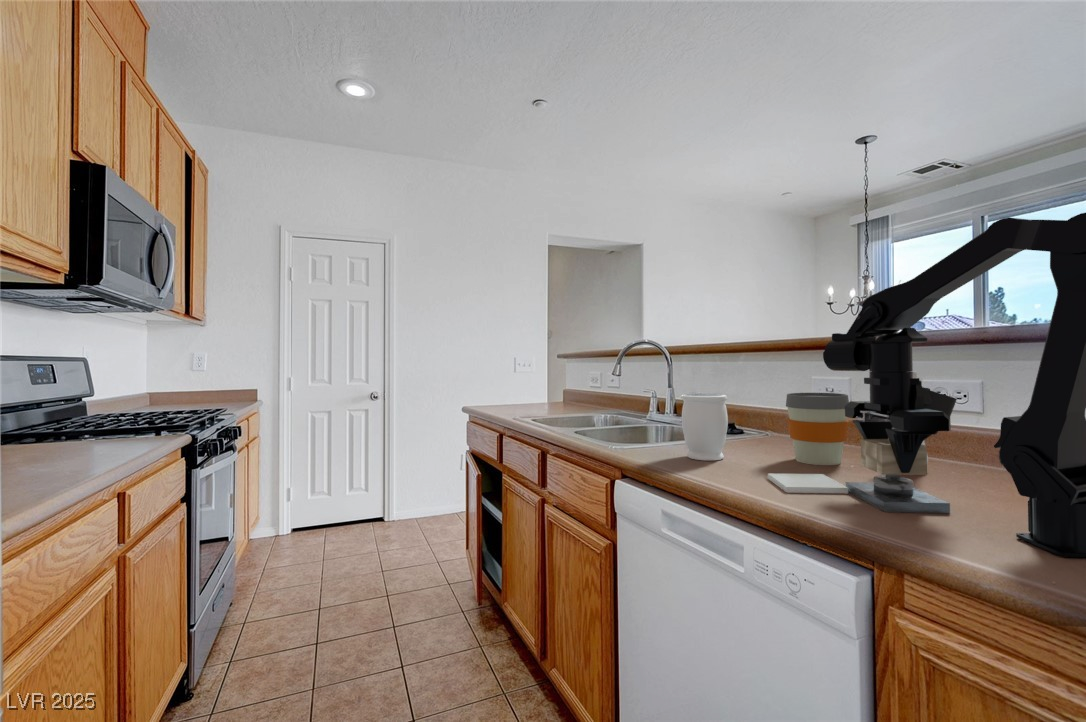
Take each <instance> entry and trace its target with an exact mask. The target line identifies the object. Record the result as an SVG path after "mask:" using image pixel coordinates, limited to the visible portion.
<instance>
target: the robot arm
mask: <svg viewBox="0 0 1086 722" xmlns="http://www.w3.org/2000/svg"><path fill="white" fill-rule="evenodd" d="M1023 251H1035V252H1037V251H1038V252H1047V253H1048V252H1049V253H1050V255H1049V270H1050V272H1051V275H1052V277H1053V281H1054V284H1055V287H1056V290H1057V291H1056V293H1057V295H1056V300H1055V302H1054V303H1055V304H1054V307H1053V311H1052V316H1051V319H1050V322H1049V327H1048V331H1047V335H1046V339H1045V342H1044V346H1043V351H1042V354H1041V359H1040V363H1039V365H1038V370H1037V374H1036V378H1035V381H1034V385H1033V390H1032V394H1031V398H1030V402H1029V405H1028V407H1027V409H1026V410H1025V411H1024V412H1023V413H1022V414H1021V415H1017V416H1006V417H1003V418H1002V420H1001V423H1000V434H999V437H998V440H997V441H996V442H995V444H994V445H993V448H995V449H999V450H998V460H999V463H1000V464H1001V465H1002V466H1003V467H1004V468H1005V470H1006V471H1007V472H1008V473H1009V474H1010V475H1011V479H1012V481H1013V482H1014V484H1015V487H1016V489H1017V492H1018V494H1019V495H1020V496H1021V497H1025V498H1026V497H1027V498H1028V501H1027V522H1028V523H1027V524H1028V530H1027V531H1028V532H1026V533H1025V532H1016V534H1015V535H1016V538H1018V539H1020V540H1022V541H1025V542H1026V543H1029V544H1032V545H1034V546H1036V547H1038V548H1040V549H1042V550H1044V551H1048V552H1050V553H1052V554H1054V555H1056V556H1059V557H1064V558H1065V557H1066V558H1086V212H1082V213H1079V214H1076V215H1074V216H1071V217H1070V218H1068V219H1067V220H1065V219H1028V218H1027V219H1026V218H1017V217H1003V218H1000V219H998V220H997V221H994V222H992V223H991V224H990V225H989V226H988V227H987V229H986V230H984V231H983V232H981V233H979V234H978V235H977V236H976V237H974V238H972V239H971V240H968V242H966V243H965V244H963V245H962V246H960V247H958V248H957V249H955V250H954V251H953V252H952V253H949V254H948V255H947V256H945V257H943V258H941V259H940V260H939V261H938V262H935V263H934V264H933V265H932V266H930V267H929V268H927V269H926V270H924V271H923V272H921V273H920V274H918V275H917V276H915V277H913V278H911V279H909V280H907V281H906V282H903V283H899V284H896V285H894V286H893V285H892V286H889V287H887V288H885V289H882V290H880V291H877V292H876V293H873V294H871V295H870V296H868V297H867V298H865V300H863V302H862V303H861V310H860V311H859V313H858V315H857V316H856V317H855V319H854V321H853V322H852V324H851V326H850V327H849V329H848V330H847V332H844V333H840V332H838V333H836V332H835V333H832V334H831V339H830V341H829V342H828V343H827V344H826V346H825V347H824V350H823V354H822V357H823V361H824V365H825V366H826V367H827V368H828V369H829V370H830V371H834V372H835V371H836V372H837V371H839V372H842V371H843V372H867V371H869V374H868V375H869V377H863V384H865V385H869V400H857V401H856V400H851V401H849V403H848V404H847V405H846V406H845V417H847V418H851V419H852V423H853V424H854V426H856V428H857V430H858V431H859V433H860V434H861V437H862V439H889V441H890V444H891V447H892V450H893V452H894V455H895V458H896V461H897V464H898V466H899V469H900V471H901V472H902V473H909V472H910V471H911V468H912V466H913V463H914V460H915V458H916V455H917V453H918V450H919V448H920V446H921V444H922V442H923V441H925V440H927V439H928V438H930V437H932V435H934V436H936V435H937V434H938V433H939V432H951V429H952V427H951V425H952V424H951V416H952V413H953V410H954V407H955V405H956V402H957V398H956V397H952V396H950V395H946V394H942V393H939V392H937V391H933V390H931V389H930V388H929V387H924V386H922V380H921V379H920V378H918V377H917V378H913V372H914V369H913V366H914V365H913V343H914V344H915V343H916V344H917V343H926V342H928V337H926V336H925V335H924V334H922V333H920V332H919V331H917V329H916V328H915V327H913V326H914V325H916V324H917V323H918V322H920V321H921V320H922V319H923V318H925V317H926V316H927V315H928V314H929V313H930V312H931V310H932V308H933V306H934V305H935V304H936V303H937V302H938V301H940V300H941V299H943V298H944V297H945V296H947V295H949V294H951V293H952V292H954V291H956V290H958V289H960V288H962V287H963V286H965V285H966V284H969V283H970V282H972V281H973V280H975V279H976V278H978V277H979V276H981V275H983V274H985V273H987V272H988V271H990V270H992V269H993V268H995V267H997V266H998V265H1000V264H1002V263H1003V262H1005V261H1007V260H1009V259H1010V258H1011V257H1014V256H1015V255H1017V254H1019V253H1020V252H1023ZM900 330H901V331H900ZM892 428H895V429H892Z"/></svg>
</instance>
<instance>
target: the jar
mask: <svg viewBox="0 0 1086 722" xmlns="http://www.w3.org/2000/svg"><path fill="white" fill-rule="evenodd" d="M681 400H682V401H683V404H682V408H681V427H682V432H683V438H684V443H685V445H686V447H687V449H688V451H687V452H686V457H687V458H689V459H692V460H696V461H705V462H706V461H707V462H708V461H709V462H712V461H720V460H724V458H725V456H724V454H723V452H722V451H723V449H724V448H725V446H726V445H725V444H726V440H727V431H728V425H729V417H728V408H727V405H726V401H727V400H728V396H727V394H722V393H686V394H685V393H684V394H681Z"/></svg>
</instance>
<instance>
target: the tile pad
mask: <svg viewBox="0 0 1086 722" xmlns="http://www.w3.org/2000/svg"><path fill="white" fill-rule="evenodd" d="M767 480H769V481H770V482H771V483H773V484H775V485H776V486H777V487H778V488H780V489H781V490H782V491H783V492H785V493H787V494H790V493H791V494H793V493H794V494H796V493H797V494H845V495H846V494H847V495H848V494H849V492H848V487H846V485H844V484H842V483H841V482H838V481H836V480H835V479H833V478H831V477H829V476H827V475H826V474H824V473H771V472H770V473H767Z"/></svg>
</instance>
